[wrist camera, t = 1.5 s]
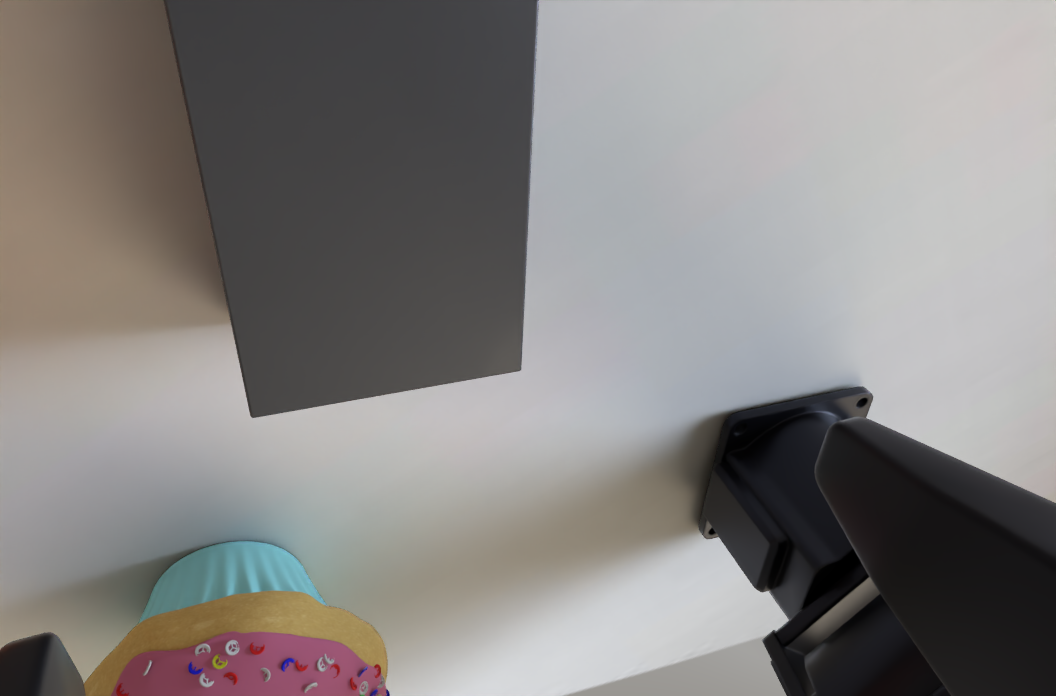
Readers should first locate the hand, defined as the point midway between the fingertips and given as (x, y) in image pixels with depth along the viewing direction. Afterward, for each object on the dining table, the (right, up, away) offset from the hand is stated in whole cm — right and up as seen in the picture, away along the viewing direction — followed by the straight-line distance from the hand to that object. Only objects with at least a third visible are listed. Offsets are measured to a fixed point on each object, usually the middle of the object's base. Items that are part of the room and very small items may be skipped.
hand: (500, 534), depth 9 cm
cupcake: (-9, -6, +17) cm, 20 cm away
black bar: (-4, +7, +10) cm, 13 cm away
